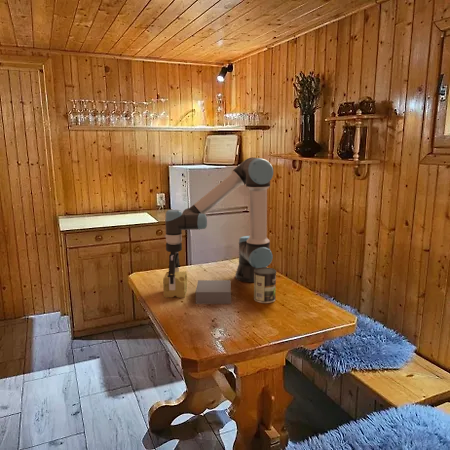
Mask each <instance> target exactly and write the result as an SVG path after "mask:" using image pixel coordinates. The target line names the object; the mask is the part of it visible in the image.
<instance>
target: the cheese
mask: <svg viewBox="0 0 450 450" xmlns="http://www.w3.org/2000/svg"><path fill="white" fill-rule="evenodd" d="M168 274H169V271H166V273H165V275H164V277H163V281H162V282H163V287H162V288H163V290H162V291H163V297H164V298H175V297H176V298H180V299H181V298H186V293H187V289H188V272H187V271H179V272H175V290H169V277H167V275H168ZM171 275H173V274H171Z"/></svg>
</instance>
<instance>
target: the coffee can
mask: <svg viewBox="0 0 450 450" xmlns="http://www.w3.org/2000/svg"><path fill="white" fill-rule="evenodd" d="M276 283H277V270H276V269H275V268H272V267H268V266H267V267H262V268H256V269H255V270H254V282H253V300H254V301H255V302H257V303H260V304H271V303H274V302H275V301H276V293H277V292H276V290H277V289H276V287H277V284H276Z"/></svg>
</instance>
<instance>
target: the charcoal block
mask: <svg viewBox="0 0 450 450" xmlns="http://www.w3.org/2000/svg"><path fill="white" fill-rule="evenodd" d="M231 283H232V282H231V280H230V279H229V280H228V279H225V280H224V279H223V280H222V279H216V280H215V279H211V280H210V279H209V280H208V279H206V280H205V279H200V280H197V283H196V289H195V304H196V305H203V304H204V305H217V304H218V305H231V304H232V290H231V289H232V287H231V285H232V284H231Z"/></svg>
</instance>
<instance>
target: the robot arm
mask: <svg viewBox="0 0 450 450" xmlns="http://www.w3.org/2000/svg"><path fill="white" fill-rule="evenodd" d="M273 176H274V168H273V166H272V163H270V162H269V160H267V159H264V158H262V157H261V158H260V157H249V158H248V157H247V158H246V159H245V160H243V161H242V162H241V163H240V164H239V165H237V166H236V167H235V168H234V169H233V170H231V173H230V174H229V175H228V176H227V177H226V178H225V179H223V180H222V181H221V182H219V184H217V185H216V186H215V187H214V188H212V189H210V191H208V192H207V193H206V194H205V195H204V196H203V197H201V198H200V199H199V200H197V202H195V203H194V204H193V205H191V206H190V207H188V208H185V209H184V210H183V211H182V210H180V209H168V210H166V211H165V221H164V222H165V223H164V224H165V235H164V238H165V242H166V243H165V250H166V252H169V253H170V254H169V257H168V259H169V260H168V261H169V262H168V272H169V274H168V275H167V277H169V290H175V272H180V268H181V263H180V255H179V252H182V250H183V243H182V242H183V232H182V231H190V230H191V231H192V230H193V231H195V230H198V231H199V230H206V229H207V226H208V218H207V213H209V211H211V210H212V209H214V208H215V207H216V206H217V205H218V204H219V203H221V202H222V201H224V200H225V199H226V198H228V196H230V194H232V193H233V192H234V191H236V190H237V189H238V188H240V187H241V186H245V187H246V188H247V189H248V191H249V192H248V193H249V194H248V195H249V196H248V197H249V198H248V200H249V203H248V207H249V208H248V211H249V213H248V214H249V216H248V217H249V220H248V221H249V224H248V226H249V230H248V231H249V235H244V236H240V237H239V239H238V266H237V269H236V271H235V279H236V280H238V281H240V282H242V283H254V270H255V269H256V268H262V267H267V268H268V266H270V265H271V264H272V262H273V258H274V257H273V256H274V255H273V253H272V250H271V244H270V243H271V242H270V241H271V240H270V239H269V238H268V237H267V236H268V235H267V233H268V231H267V230H268V227H267V225H268V223H267V222H268V220H267V219H268V218H267V217H268V216H267V215H268V190H269V188H270V187H271V180H272V179H273ZM171 274H173V275H171Z"/></svg>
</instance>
